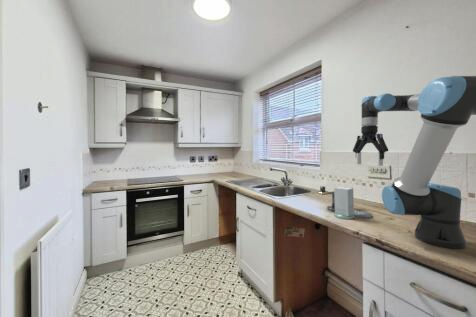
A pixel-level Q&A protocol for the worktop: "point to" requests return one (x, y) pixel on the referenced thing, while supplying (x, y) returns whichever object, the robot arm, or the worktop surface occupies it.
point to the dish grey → (362, 214)
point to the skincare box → (344, 201)
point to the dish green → (343, 216)
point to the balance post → (332, 204)
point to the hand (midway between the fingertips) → (368, 165)
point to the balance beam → (323, 192)
